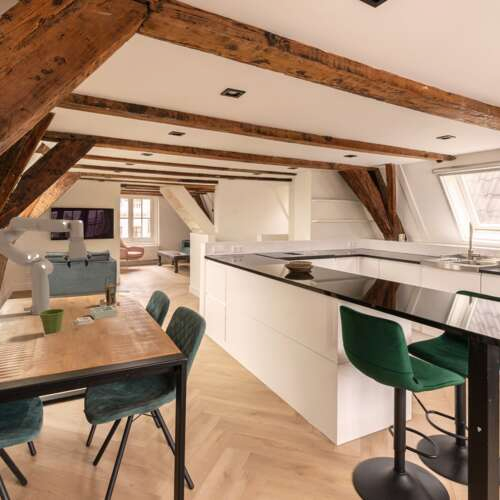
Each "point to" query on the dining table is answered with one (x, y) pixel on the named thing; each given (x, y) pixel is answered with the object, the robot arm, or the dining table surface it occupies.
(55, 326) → the plant pot
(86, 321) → the checker cradle
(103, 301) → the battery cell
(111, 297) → the multimeter
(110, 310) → the white open box
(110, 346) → the dining table surface
